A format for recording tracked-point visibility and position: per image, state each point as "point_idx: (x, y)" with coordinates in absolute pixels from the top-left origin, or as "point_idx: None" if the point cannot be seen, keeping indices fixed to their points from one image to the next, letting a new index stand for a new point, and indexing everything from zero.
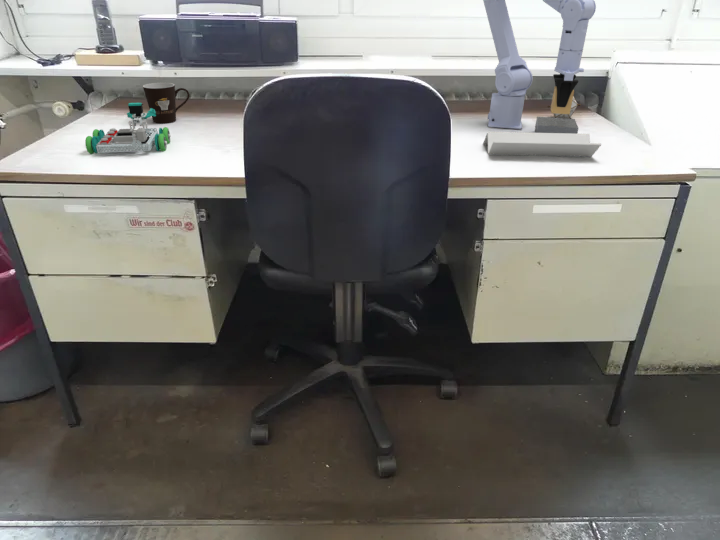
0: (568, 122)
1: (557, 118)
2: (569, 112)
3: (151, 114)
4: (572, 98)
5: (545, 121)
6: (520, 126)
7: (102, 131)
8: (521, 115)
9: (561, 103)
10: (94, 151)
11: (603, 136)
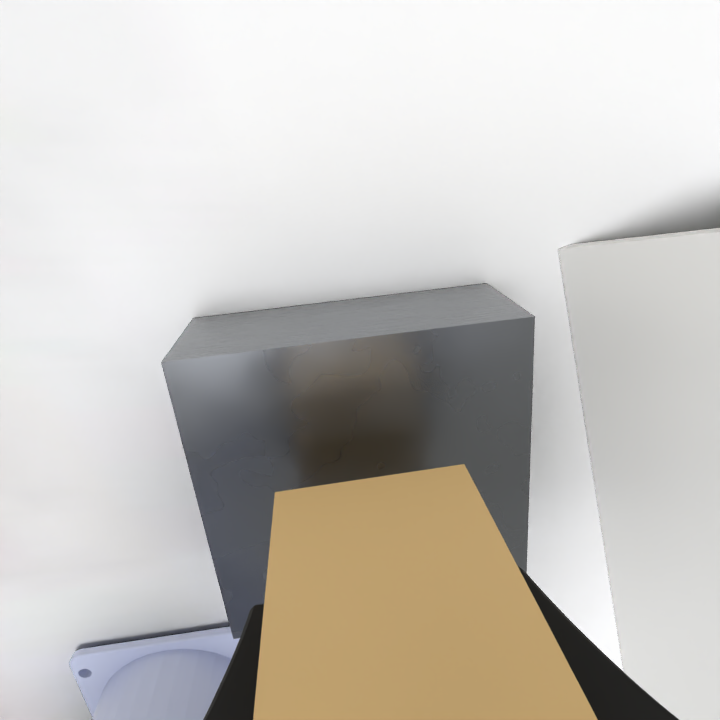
0: (346, 408)
1: (225, 502)
2: (469, 478)
3: None
4: (535, 602)
5: None
6: (229, 641)
7: None
8: (174, 714)
9: None
10: None
11: (149, 27)
